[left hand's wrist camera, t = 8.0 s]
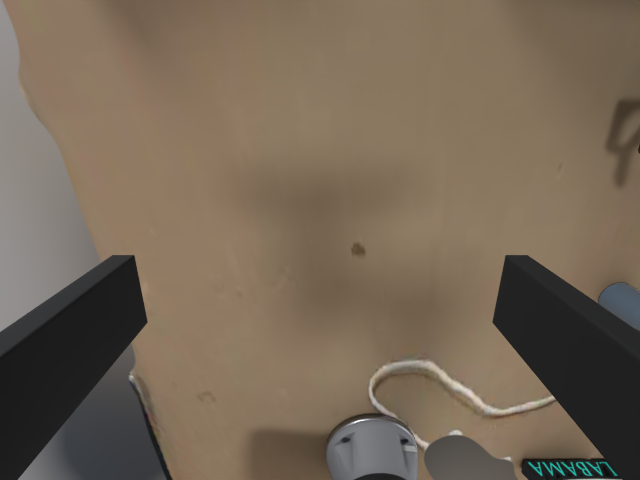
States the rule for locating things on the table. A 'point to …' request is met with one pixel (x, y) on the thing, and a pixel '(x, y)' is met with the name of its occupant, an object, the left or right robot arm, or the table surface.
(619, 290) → the bottle
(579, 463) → the decorative sign
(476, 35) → the table surface
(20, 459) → the left robot arm
